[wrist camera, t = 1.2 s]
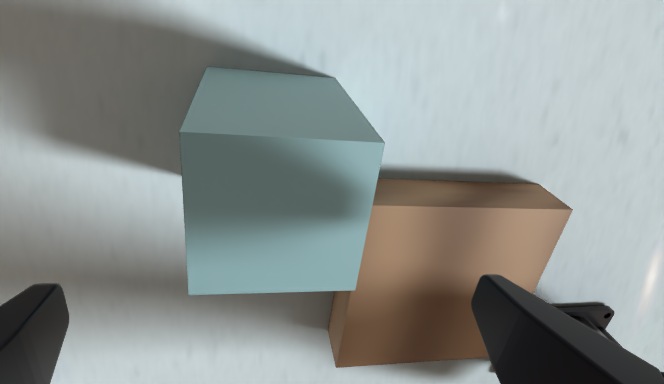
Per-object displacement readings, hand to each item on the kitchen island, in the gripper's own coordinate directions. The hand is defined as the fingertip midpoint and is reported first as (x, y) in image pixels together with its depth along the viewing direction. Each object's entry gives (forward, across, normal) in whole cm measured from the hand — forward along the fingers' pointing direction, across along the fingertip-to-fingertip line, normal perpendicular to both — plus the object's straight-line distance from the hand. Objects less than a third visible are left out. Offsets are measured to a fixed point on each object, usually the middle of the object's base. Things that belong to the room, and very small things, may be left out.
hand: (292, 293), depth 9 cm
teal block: (+10, 0, 0) cm, 10 cm away
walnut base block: (+10, -9, +7) cm, 15 cm away
